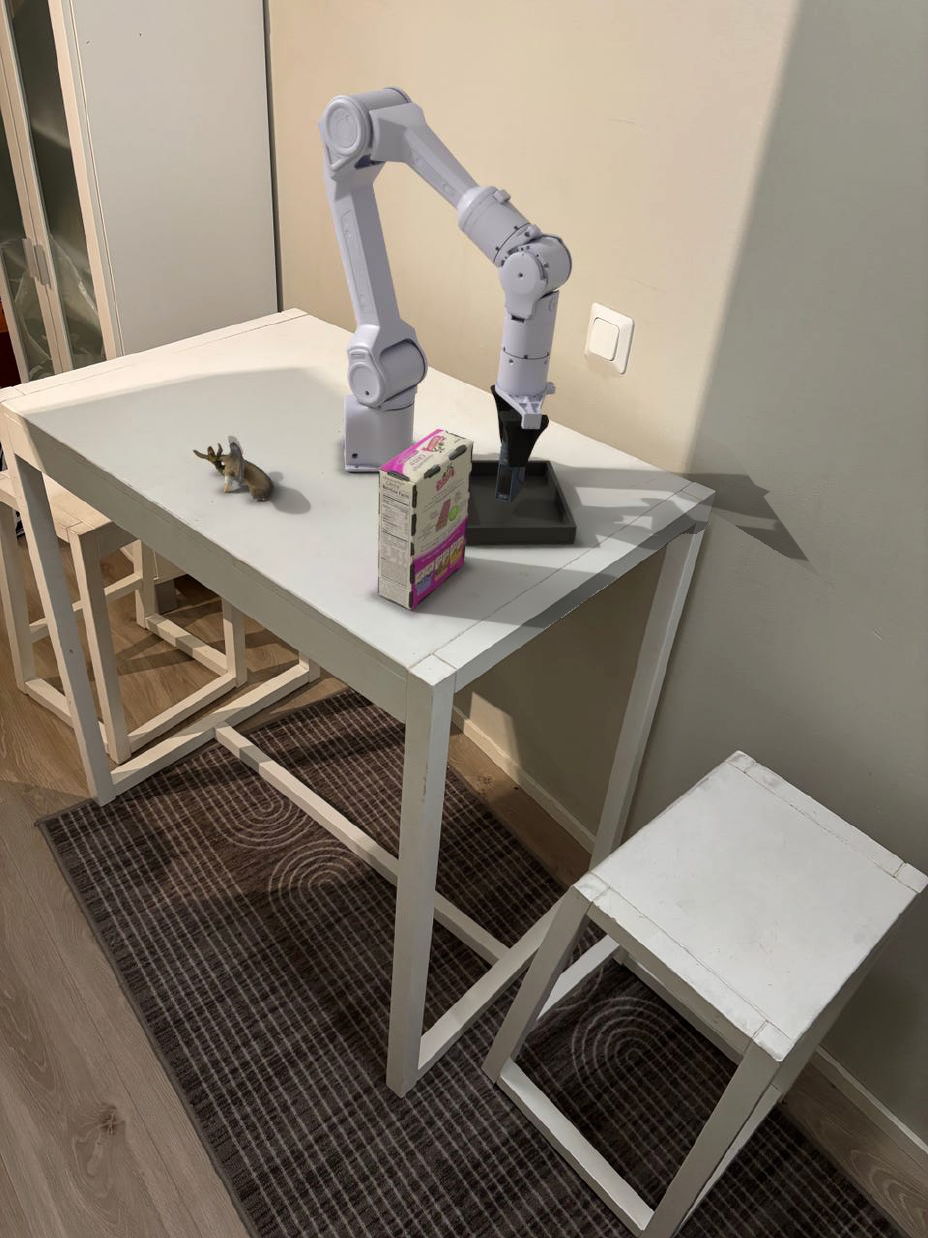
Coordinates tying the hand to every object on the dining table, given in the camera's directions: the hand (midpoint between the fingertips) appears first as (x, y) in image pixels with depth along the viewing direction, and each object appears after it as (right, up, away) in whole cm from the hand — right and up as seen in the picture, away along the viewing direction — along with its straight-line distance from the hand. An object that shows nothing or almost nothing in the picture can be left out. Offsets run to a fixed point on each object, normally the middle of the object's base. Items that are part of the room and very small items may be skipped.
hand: (512, 454), depth 118 cm
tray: (-1, -6, +5) cm, 8 cm away
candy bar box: (-11, -16, -8) cm, 21 cm away
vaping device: (0, -4, +4) cm, 6 cm away
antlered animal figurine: (-35, -4, +4) cm, 35 cm away
